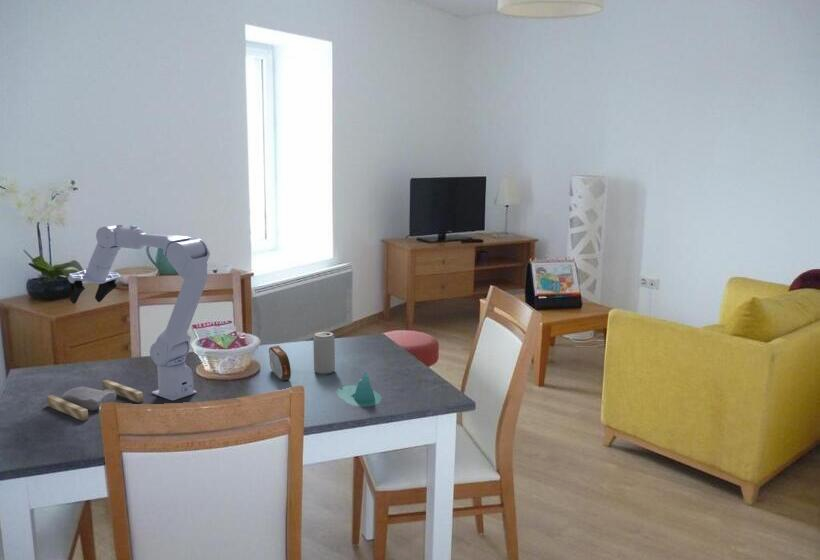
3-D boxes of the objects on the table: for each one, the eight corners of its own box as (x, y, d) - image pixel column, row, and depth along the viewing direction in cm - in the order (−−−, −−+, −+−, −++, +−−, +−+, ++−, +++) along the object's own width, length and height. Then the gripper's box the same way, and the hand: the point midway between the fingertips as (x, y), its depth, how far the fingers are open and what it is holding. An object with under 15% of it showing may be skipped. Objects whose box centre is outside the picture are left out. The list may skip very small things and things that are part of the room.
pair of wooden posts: (143, 401, 186) (142, 392, 186) (82, 420, 173) (81, 411, 172) (107, 387, 196) (106, 379, 196) (47, 405, 182) (46, 396, 182)
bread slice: (292, 383, 202) (291, 355, 200) (281, 384, 200) (280, 356, 199) (277, 368, 215) (277, 342, 213) (267, 369, 214) (267, 343, 212)
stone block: (83, 401, 191) (57, 407, 181) (85, 384, 191) (59, 389, 181) (121, 407, 188) (97, 414, 178) (123, 390, 188) (98, 395, 178)
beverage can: (338, 372, 211) (338, 334, 209) (319, 376, 207) (319, 337, 205) (329, 367, 216) (328, 330, 214) (310, 370, 213) (309, 332, 210)
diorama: (364, 382, 204) (364, 354, 202) (393, 405, 187) (394, 374, 185) (325, 388, 199) (325, 359, 197) (351, 412, 181) (351, 380, 180)
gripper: (117, 254, 202) (101, 291, 206) (69, 253, 189) (54, 293, 194) (129, 268, 199) (113, 305, 203) (81, 269, 186) (65, 308, 191)
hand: (85, 300), depth 199 cm, fingers open, 7 cm apart
